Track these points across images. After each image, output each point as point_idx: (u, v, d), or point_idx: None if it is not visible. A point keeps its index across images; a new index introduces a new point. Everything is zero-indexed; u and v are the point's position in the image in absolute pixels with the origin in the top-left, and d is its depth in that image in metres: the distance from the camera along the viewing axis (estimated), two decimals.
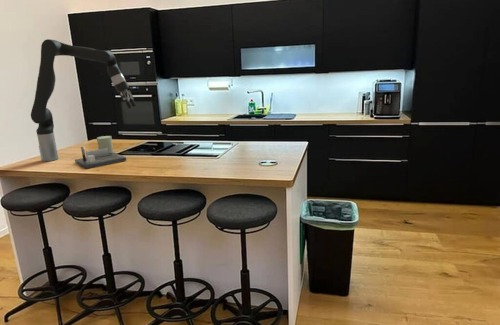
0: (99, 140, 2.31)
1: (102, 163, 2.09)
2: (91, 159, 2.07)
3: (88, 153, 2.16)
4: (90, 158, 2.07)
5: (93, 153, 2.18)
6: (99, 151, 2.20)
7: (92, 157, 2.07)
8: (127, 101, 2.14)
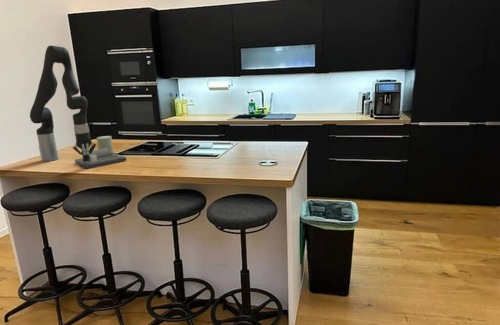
0: (99, 140, 2.31)
1: (102, 163, 2.09)
2: (93, 159, 2.08)
3: None
4: (92, 158, 2.07)
5: (93, 153, 2.18)
6: (99, 151, 2.20)
7: (94, 157, 2.08)
8: (83, 154, 2.05)
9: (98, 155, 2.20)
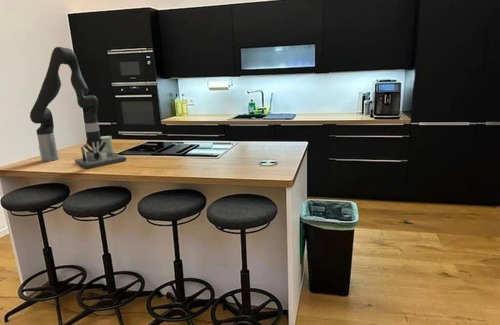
0: None
1: (102, 163, 2.09)
2: (103, 157, 2.11)
3: (88, 153, 2.16)
4: (102, 156, 2.11)
5: None
6: None
7: (104, 155, 2.12)
8: (93, 153, 2.08)
9: None
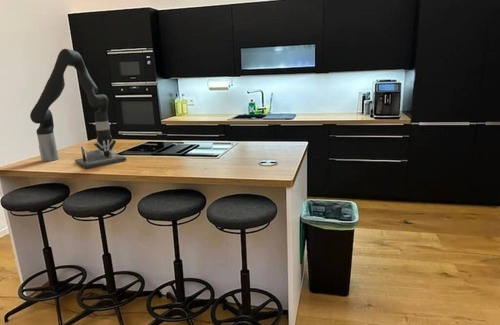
0: None
1: (102, 163, 2.09)
2: (113, 155, 2.15)
3: (88, 153, 2.16)
4: (112, 154, 2.15)
5: (93, 153, 2.18)
6: (99, 151, 2.20)
7: (114, 153, 2.15)
8: None
9: (98, 155, 2.20)
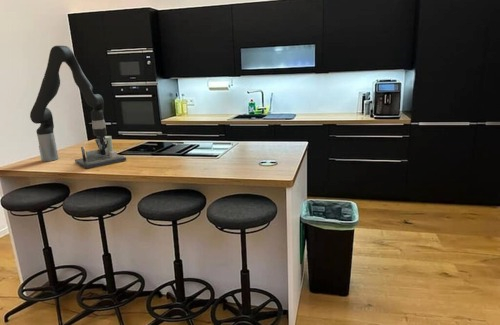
0: None
1: (102, 163, 2.09)
2: (113, 155, 2.15)
3: (88, 153, 2.16)
4: (112, 154, 2.15)
5: (93, 153, 2.18)
6: (98, 150, 2.21)
7: (114, 153, 2.15)
8: (104, 148, 2.19)
9: (98, 155, 2.21)
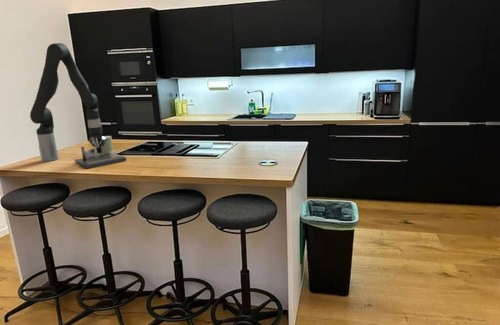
0: None
1: (102, 163, 2.09)
2: (113, 155, 2.15)
3: (87, 153, 2.17)
4: (112, 154, 2.15)
5: (90, 152, 2.20)
6: (93, 150, 2.23)
7: (114, 153, 2.15)
8: (101, 146, 2.24)
9: (93, 154, 2.23)
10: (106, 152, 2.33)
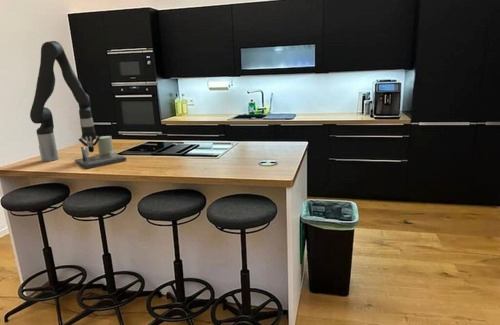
0: (99, 140, 2.31)
1: (102, 163, 2.09)
2: (113, 155, 2.15)
3: (85, 153, 2.18)
4: (112, 154, 2.15)
5: (86, 152, 2.20)
6: (86, 150, 2.24)
7: (114, 153, 2.15)
8: (93, 145, 2.26)
9: (87, 154, 2.23)
10: (106, 152, 2.33)
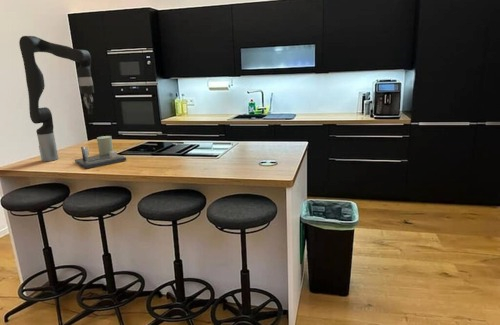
0: (99, 140, 2.31)
1: (102, 163, 2.09)
2: (113, 155, 2.15)
3: (85, 153, 2.18)
4: (112, 154, 2.15)
5: (86, 152, 2.20)
6: (86, 150, 2.24)
7: (114, 153, 2.15)
8: (91, 107, 2.12)
9: (87, 154, 2.23)
10: (106, 152, 2.33)
